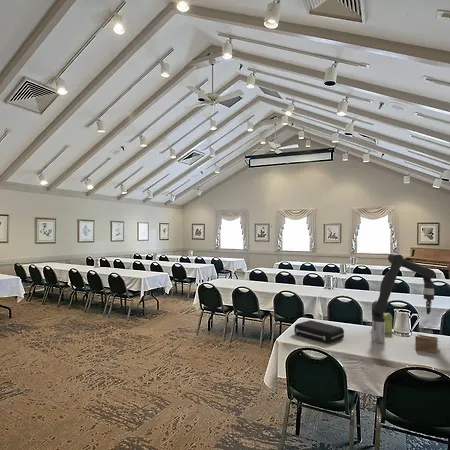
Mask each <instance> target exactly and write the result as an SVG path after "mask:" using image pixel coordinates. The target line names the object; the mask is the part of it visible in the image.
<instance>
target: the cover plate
mask: <svg viewBox="0 0 450 450" xmlns="http://www.w3.org/2000/svg"><path fill="white" fill-rule="evenodd" d="M422 335H425V336H431V337H436V336H435V335H431V334H425V333H424V334H422ZM439 343H440V340H438V345H439Z"/></svg>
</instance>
